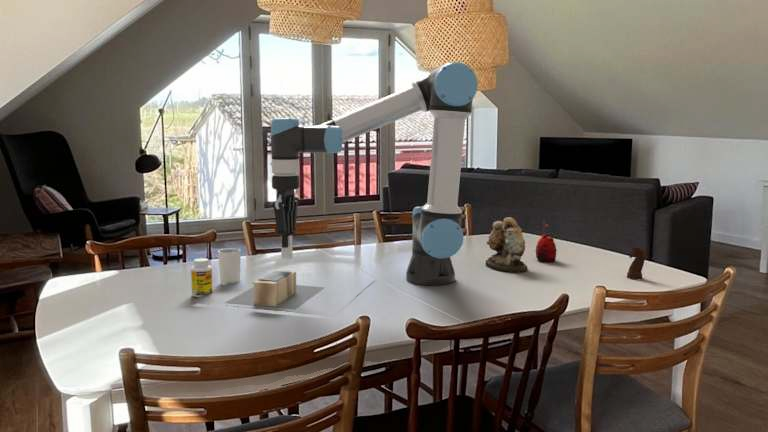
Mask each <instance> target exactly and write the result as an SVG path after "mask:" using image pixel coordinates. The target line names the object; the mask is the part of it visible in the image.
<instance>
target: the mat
mask: <svg viewBox="0 0 768 432" xmlns="http://www.w3.org/2000/svg"><path fill="white" fill-rule="evenodd" d="M325 288H326V287H324V286H315V285H313V286H311V285H299V284H296V293H294V294H293V295H291V296H290V297H288V298H287V299H285V300H284V301H282V302H281V303H279V304H278V305H276V306H268V305H257V304H254V286H253V287H251V288H249V289H247V290H246V291H243V292H242V293H240V294H238V295H236V296H234V297H233V298H231V299H229V300H227V301H225V304H232V305H234V307H238V306H236V305H243V306H256V307H255V309H258V310H259V308H257V307H264V308H265V307H267V308H269V309H267V308H265V310H268V311H270V308H276V311H277V312H280V311H281V310H277V309H288V310H296V309H298V308H299V307H301V305H303V304H305V303H306V302H307V301H309V300H310V299H312V298H313V297H314V296H315V295H317V294H318V293H320V292H321V291H323V290H324V289H325ZM224 306H228V305H224ZM244 308H248V309H249V307H244ZM288 310H287V312H290V313H291V311H288Z"/></svg>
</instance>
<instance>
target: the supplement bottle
mask: <svg viewBox="0 0 768 432" xmlns="http://www.w3.org/2000/svg"><path fill="white" fill-rule="evenodd" d="M190 274H191V275H190V276H191V278H190V279H191V295H192V296H193V297H195V298H202V297H204V296H207V295H210V294H213V267H212V266H211V265H210V261H209V258H206V257H202V258H195V259H194V260H193V266H192V267H190Z"/></svg>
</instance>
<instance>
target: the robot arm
mask: <svg viewBox="0 0 768 432" xmlns="http://www.w3.org/2000/svg"><path fill="white" fill-rule="evenodd" d="M478 84H479V83H478V77H477V74H476V72H475V71H474V70H473V69H472V67H470V66H468V64H466V63H463V62H460V61H459V62H457V61H449V62H447V63H444V64H442V65H440V66H438V67H437V68H436V69H434V70H433V71H431V72H429V73H428V74H426V75H425V76H423V77H421V78H419V79H416V80H413V82H412V84H411V86H409V87H406V88H403V89H402V90H399V91H397V92H394V93H392V94H390V95H387V96H385V97H382V98H380V99H378V100H375V101H373V102H371V103H368V104H366V105H363V106H361V107H359V108H356V109H355V110H354V109H353V110H351V111H349V112H347V113H344V114H342V115H340V116H337V117H335V118H333V119H330V120H328V121H325V122H323V123H321V124H317V125H301V124H300V123H299V119H298V118H296V117H295V118H293V117H291V118H290V117H289V118H283V117H282V118H281V117H280V118H279V117H275V118H273V119H272V120H271V122H270V125H271V126H270V128H271V129H270V153H271V154H270V155H271V162H270V165H271V173H272V176H271V187H272V189H273V190H276V201H272V208H273V210H274V212H273V213H274V220H275V226H276V233H277V235H276V236H278V237H280V245H281V250H280V251H281V255H280V256H281V259H285V260H286V259H287V260H291V259H293V258H294V257H293V236H295V235H296V233H297V232H296V229H297V217H298V213H297V212H298V204H299V199H300V198H299V197H298V196H296V193H295V190H298V189H299V188H300V176H299V173H300V154H301V153H302V154H338V153H341V152H342V151H343V144H344V143H346V142H348V141H351V140H353V139H355V138H358V137H360V136H363V135H365V134H367V133H371V132H372V131H375V130H376V129H380V128H382V127H385V126H387V125H389V124H392V123H395V122H397V121H399V120H401V119H404V118H406V117H408V116H410V115H413V114H415V113H418V112H420V111H422V112H424V113H428V112H429V113H430V114H431V115H432V116H433V118H434V119H433V120H434V121H433V132H432V142H431V155H430V163H429V165H430V166H429V167H430V168H429V177H428V178H429V179H428V188H427V189H428V191H427V202H426V203H425V204H424V205H423V206H415V207H414V208H413V209H412V215H411V217H412V242H411V243H412V244H411V245H412V249H411V253H412V254H411V257H410V260H409V264H408V266H407V270H406V276H405V279H406V281H407V282H409V283H413V284H415V285H422V286H423V285H424V286H442V285H449V284H452V283H454V282H455V281H456V272H455V268H454V265H453V262H452V259H451V258H452V257H453V256H454V255H456V254H457V253H458V252H459V251H460V249H461V248H462V246H463V243H464V232H463V228H462V219H463V218H462V217H463V210H462V209H461V208H460V207H459V205H458V204H459V203H458V202H459V191H460V182H461V181H460V179H461V171H462V170H461V169H462V161H463V160H462V158H463V148H464V137H465V136H464V135H465V126H466V120H467V119H468V118H469V117H470V116H471V115H472V110H473V101H474V100H473V99H474V98H475V97H476V94H477V91H478Z"/></svg>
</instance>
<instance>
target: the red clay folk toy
mask: <svg viewBox="0 0 768 432" xmlns="http://www.w3.org/2000/svg"><path fill="white" fill-rule="evenodd" d="M542 225H543V230H542V231H543V235H541V236H540V238H539V239H538V241H537V244H536V245H535V248H536V249H535V257H536V259H537V261H540V262H543V263H552V262H556V257H557V246H556V243H555V240H554V238H553V237H551V236H547V235H546V228H548V227H549V224H546V222H545V221H544V220H542Z"/></svg>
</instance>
